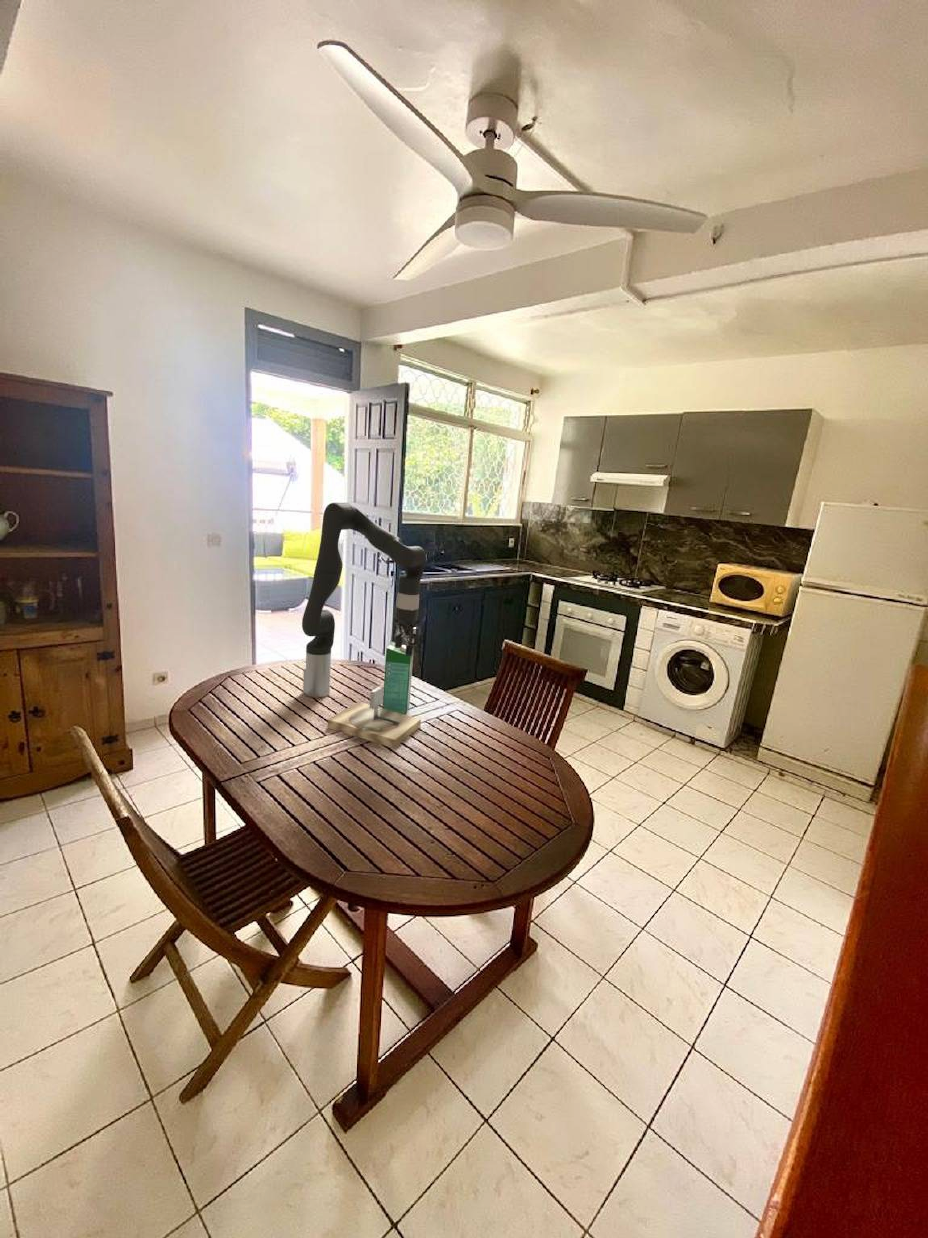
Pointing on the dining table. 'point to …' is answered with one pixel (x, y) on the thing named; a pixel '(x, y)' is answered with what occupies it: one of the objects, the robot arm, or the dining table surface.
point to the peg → (378, 702)
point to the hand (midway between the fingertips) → (403, 651)
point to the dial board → (374, 724)
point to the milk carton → (397, 679)
